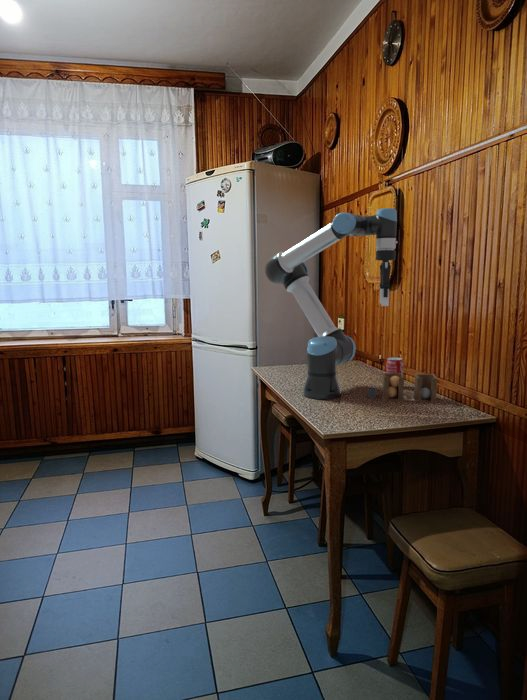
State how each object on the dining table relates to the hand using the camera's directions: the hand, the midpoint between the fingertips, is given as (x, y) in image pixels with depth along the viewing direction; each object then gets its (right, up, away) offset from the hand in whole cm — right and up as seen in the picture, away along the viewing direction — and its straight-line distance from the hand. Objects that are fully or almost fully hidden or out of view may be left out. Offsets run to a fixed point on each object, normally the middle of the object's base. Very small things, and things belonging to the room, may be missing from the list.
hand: (384, 304), depth 185 cm
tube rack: (+9, -38, -3) cm, 39 cm away
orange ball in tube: (+3, -36, -2) cm, 37 cm away
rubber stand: (-5, -37, 0) cm, 38 cm away
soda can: (+9, -34, +17) cm, 40 cm away
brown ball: (+2, -31, -2) cm, 32 cm away
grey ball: (+15, -37, -4) cm, 40 cm away
